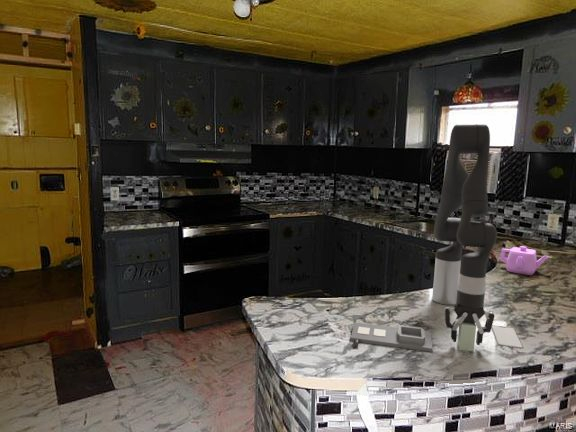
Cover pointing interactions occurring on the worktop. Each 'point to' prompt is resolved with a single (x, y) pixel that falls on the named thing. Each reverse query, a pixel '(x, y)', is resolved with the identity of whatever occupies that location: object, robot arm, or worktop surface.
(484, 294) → the robot arm
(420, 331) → the power strip
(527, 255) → the teakettle
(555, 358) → the worktop surface
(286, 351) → the worktop surface
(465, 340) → the block
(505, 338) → the smartphone
